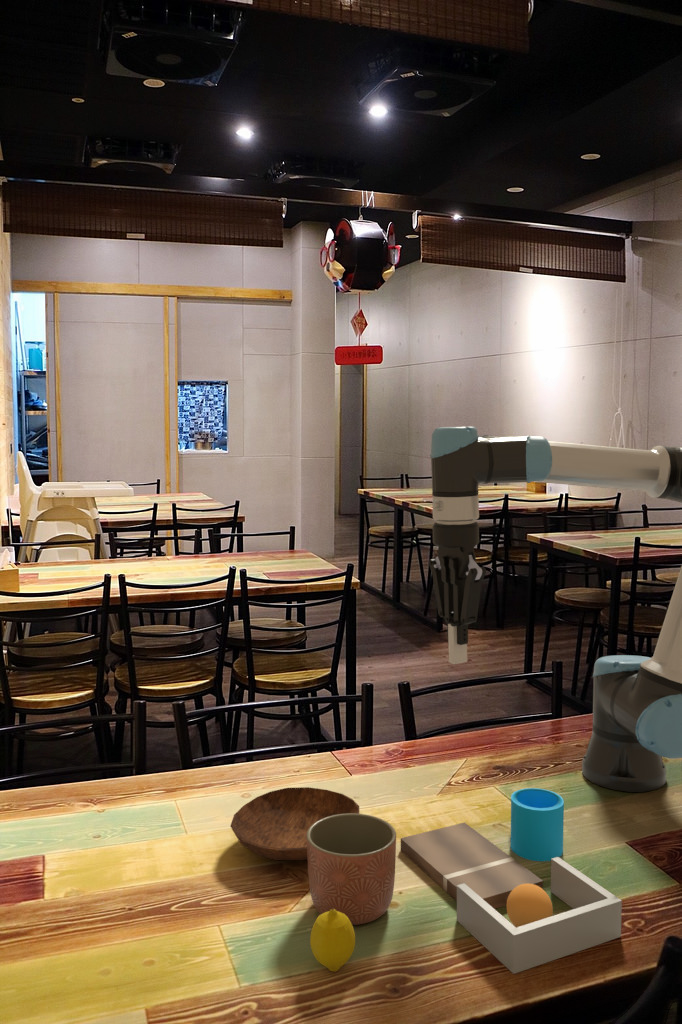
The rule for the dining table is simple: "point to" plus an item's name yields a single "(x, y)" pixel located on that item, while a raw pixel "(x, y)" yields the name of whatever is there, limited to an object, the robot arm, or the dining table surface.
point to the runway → (467, 863)
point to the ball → (528, 905)
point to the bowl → (286, 820)
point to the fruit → (332, 939)
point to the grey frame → (545, 921)
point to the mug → (537, 824)
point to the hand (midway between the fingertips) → (458, 661)
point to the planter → (352, 865)
